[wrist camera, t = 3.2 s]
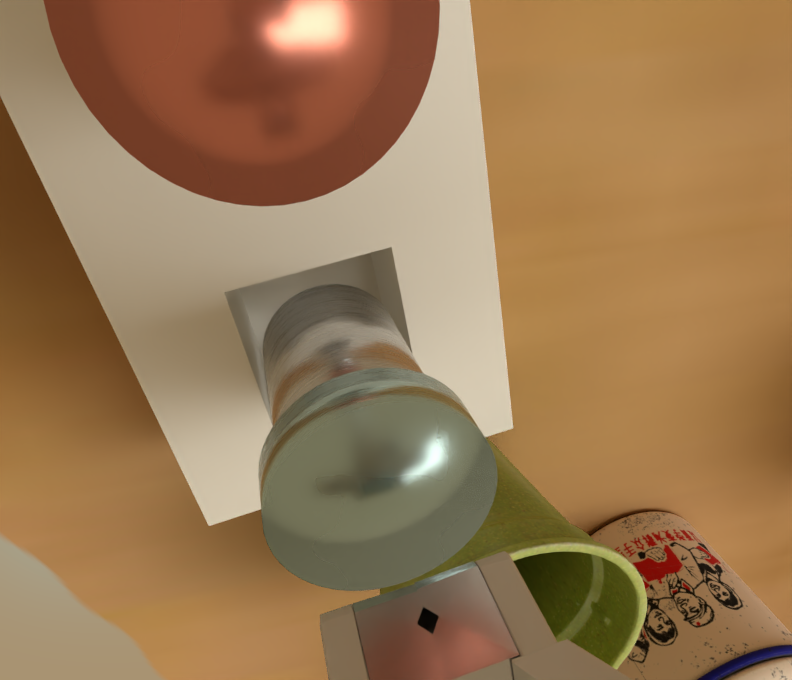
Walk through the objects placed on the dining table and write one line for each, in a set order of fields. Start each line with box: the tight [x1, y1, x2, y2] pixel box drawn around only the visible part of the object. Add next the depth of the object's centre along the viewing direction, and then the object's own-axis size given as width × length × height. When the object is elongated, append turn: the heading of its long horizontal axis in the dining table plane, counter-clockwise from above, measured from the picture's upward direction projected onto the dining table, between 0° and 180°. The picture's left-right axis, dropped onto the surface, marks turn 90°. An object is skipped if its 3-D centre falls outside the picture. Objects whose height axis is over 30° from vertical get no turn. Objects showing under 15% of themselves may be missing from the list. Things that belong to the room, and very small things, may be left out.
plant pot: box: [380, 437, 647, 670], centre depth 23 cm, size 9×9×9 cm
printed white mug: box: [590, 512, 792, 680], centre depth 28 cm, size 12×9×12 cm
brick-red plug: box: [43, 0, 440, 206], centre depth 10 cm, size 4×4×6 cm
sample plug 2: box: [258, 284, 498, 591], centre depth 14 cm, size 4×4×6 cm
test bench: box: [0, 0, 513, 526], centre depth 15 cm, size 26×10×5 cm, turn 11°
